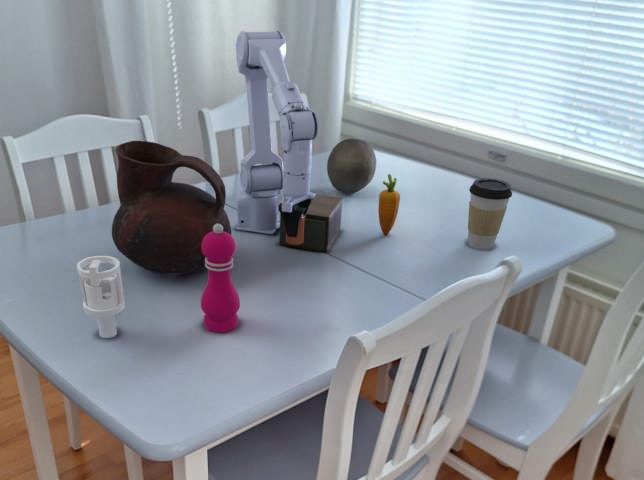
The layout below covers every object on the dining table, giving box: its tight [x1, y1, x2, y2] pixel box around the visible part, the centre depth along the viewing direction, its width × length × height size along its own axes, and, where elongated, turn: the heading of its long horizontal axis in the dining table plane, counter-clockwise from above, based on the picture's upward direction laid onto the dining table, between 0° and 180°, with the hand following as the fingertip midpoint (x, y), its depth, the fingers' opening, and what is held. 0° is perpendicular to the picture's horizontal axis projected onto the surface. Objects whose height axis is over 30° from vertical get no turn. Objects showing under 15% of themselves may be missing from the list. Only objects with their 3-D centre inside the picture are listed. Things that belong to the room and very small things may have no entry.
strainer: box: [76, 255, 126, 339], centre depth 117 cm, size 7×7×15 cm
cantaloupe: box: [326, 138, 377, 195], centre depth 186 cm, size 14×14×15 cm
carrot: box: [378, 173, 401, 237], centre depth 161 cm, size 5×5×15 cm
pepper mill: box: [200, 224, 241, 333], centre depth 120 cm, size 7×7×20 cm
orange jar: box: [286, 214, 305, 245], centre depth 146 cm, size 4×4×7 cm
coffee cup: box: [467, 177, 513, 251], centre depth 159 cm, size 10×10×15 cm
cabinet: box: [279, 193, 343, 253], centre depth 160 cm, size 14×12×9 cm
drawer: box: [281, 216, 326, 250], centre depth 158 cm, size 14×10×7 cm
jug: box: [111, 140, 232, 275], centre depth 140 cm, size 25×25×25 cm
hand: (295, 232), depth 147 cm, fingers closed on orange jar, 4 cm apart
